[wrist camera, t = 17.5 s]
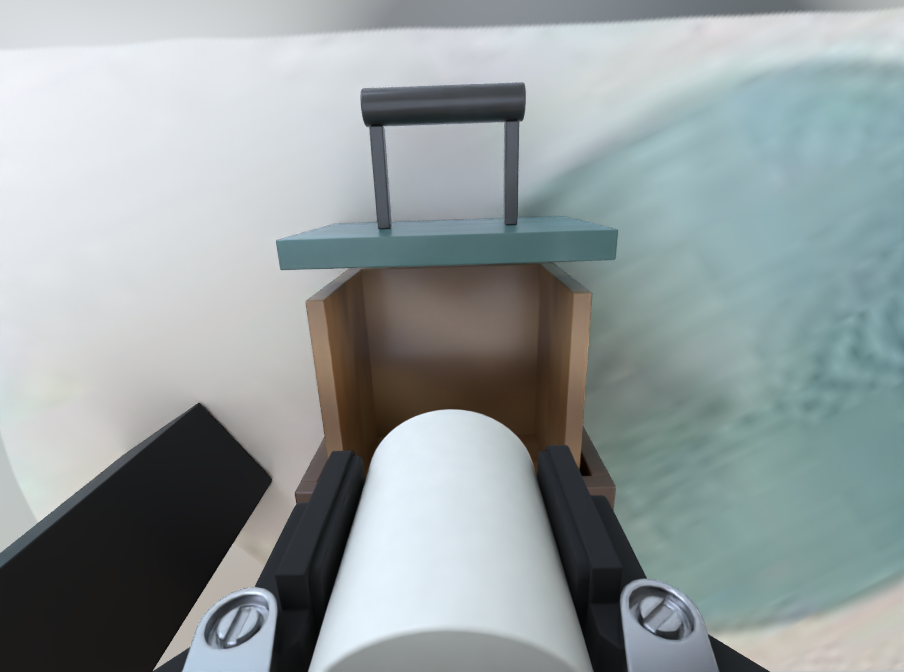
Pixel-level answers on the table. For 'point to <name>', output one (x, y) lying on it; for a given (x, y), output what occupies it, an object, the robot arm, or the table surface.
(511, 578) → the paper towel roll
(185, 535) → the black square column
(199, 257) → the table surface
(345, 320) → the drawer
